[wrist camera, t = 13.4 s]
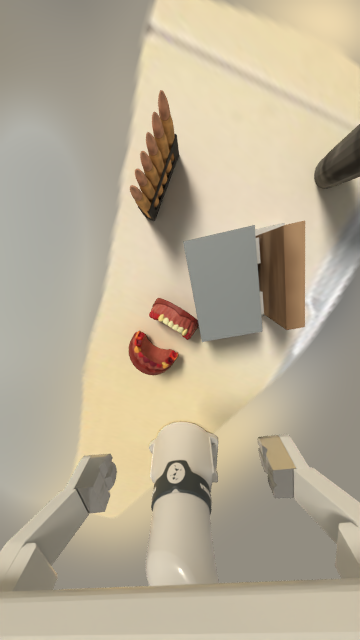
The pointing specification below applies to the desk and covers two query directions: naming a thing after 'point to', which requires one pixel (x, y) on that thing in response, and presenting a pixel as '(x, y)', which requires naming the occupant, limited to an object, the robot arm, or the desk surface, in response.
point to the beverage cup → (340, 162)
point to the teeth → (153, 357)
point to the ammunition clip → (156, 161)
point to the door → (283, 274)
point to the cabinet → (227, 282)
